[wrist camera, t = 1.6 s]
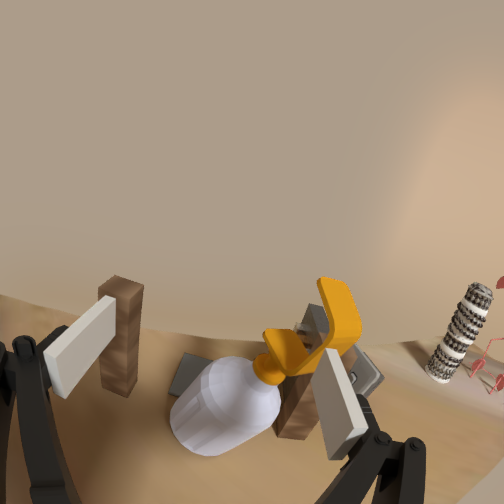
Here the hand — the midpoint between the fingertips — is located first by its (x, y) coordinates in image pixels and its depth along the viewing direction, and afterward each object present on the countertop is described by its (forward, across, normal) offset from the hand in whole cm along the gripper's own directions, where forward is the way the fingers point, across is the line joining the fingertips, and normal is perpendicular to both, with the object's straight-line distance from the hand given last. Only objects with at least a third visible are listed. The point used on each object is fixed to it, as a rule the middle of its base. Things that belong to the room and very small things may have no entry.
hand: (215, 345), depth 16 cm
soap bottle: (+9, 0, -20) cm, 22 cm away
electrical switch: (+22, +24, -22) cm, 38 cm away
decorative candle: (+31, +56, -22) cm, 67 cm away
